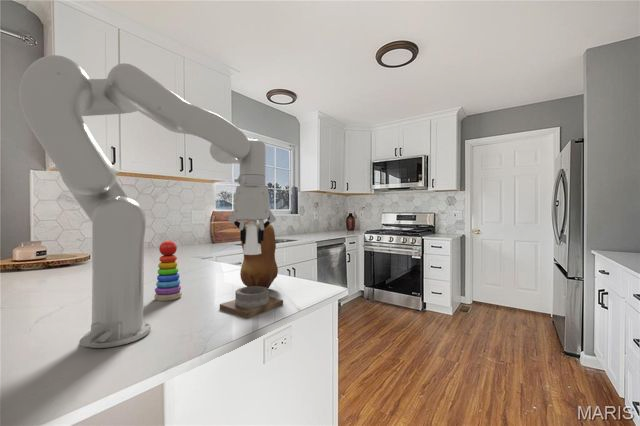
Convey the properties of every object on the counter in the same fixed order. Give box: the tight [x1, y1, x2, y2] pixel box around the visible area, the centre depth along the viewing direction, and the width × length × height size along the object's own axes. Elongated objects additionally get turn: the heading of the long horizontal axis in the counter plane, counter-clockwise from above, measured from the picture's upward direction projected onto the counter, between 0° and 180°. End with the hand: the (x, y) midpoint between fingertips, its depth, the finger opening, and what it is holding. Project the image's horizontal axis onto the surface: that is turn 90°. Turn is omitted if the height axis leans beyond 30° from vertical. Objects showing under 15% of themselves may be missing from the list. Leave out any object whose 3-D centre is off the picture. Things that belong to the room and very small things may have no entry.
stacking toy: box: [153, 240, 183, 302], centre depth 93 cm, size 8×8×19 cm
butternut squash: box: [239, 221, 279, 289], centre depth 103 cm, size 14×13×25 cm
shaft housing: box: [219, 286, 284, 319], centre depth 85 cm, size 14×12×5 cm
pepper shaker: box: [242, 220, 261, 255], centre depth 85 cm, size 5×5×11 cm
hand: (252, 242), depth 85 cm, fingers closed on pepper shaker, 4 cm apart
